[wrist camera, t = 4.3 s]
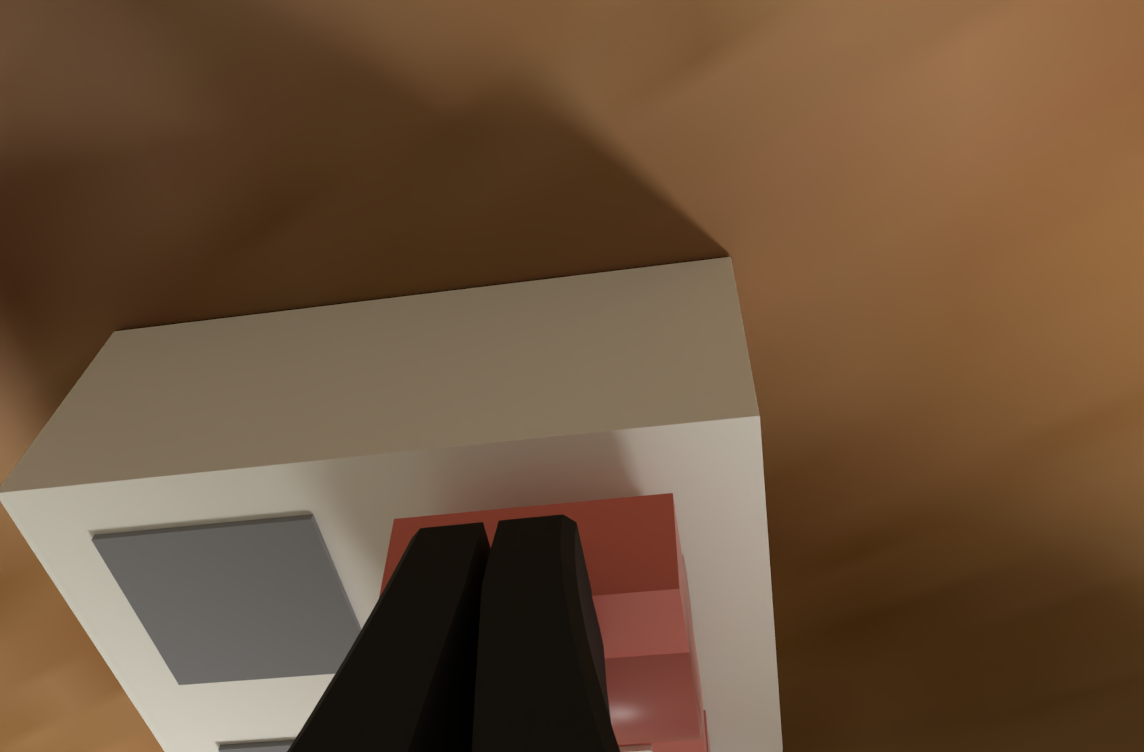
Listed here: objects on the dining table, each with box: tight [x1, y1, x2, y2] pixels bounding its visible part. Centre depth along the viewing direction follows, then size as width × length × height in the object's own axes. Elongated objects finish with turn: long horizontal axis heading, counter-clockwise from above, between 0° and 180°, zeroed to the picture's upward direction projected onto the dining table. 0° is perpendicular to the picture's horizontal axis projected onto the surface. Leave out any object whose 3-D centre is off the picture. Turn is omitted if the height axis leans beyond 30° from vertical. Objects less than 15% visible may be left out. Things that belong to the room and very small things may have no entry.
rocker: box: [379, 493, 707, 752], centre depth 12 cm, size 4×3×2 cm
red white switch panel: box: [0, 257, 783, 752], centre depth 17 cm, size 13×9×4 cm
